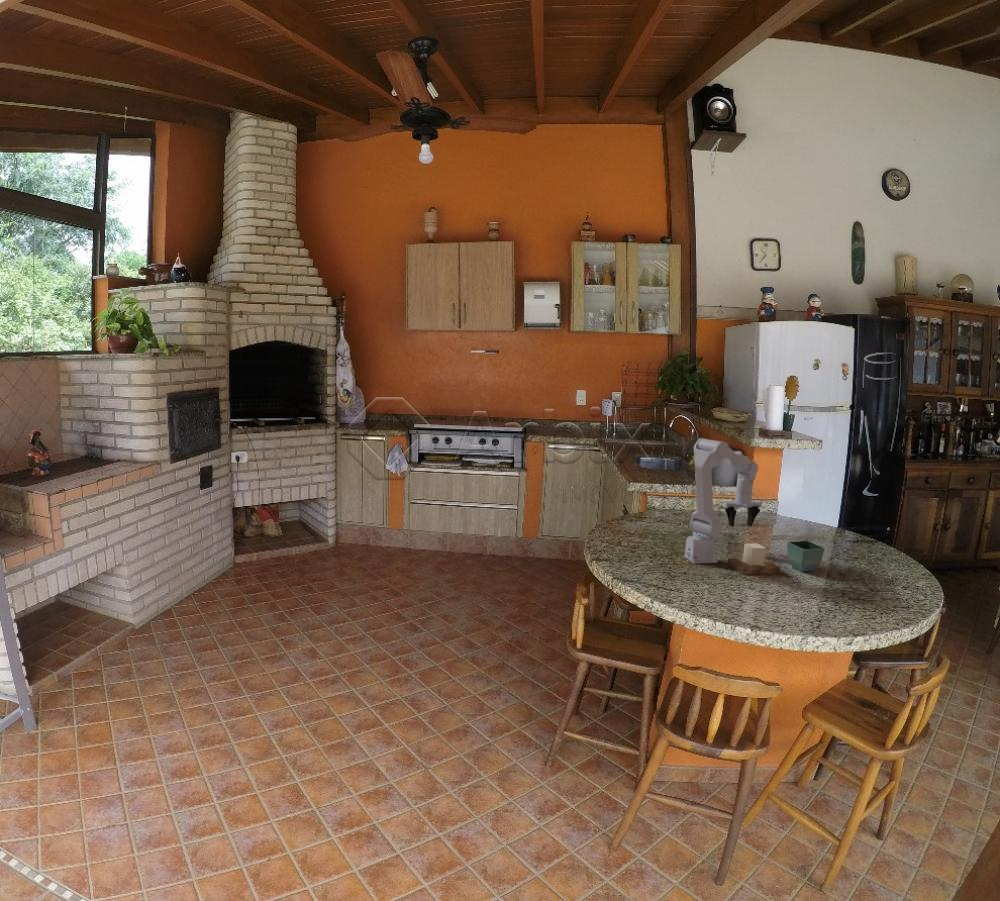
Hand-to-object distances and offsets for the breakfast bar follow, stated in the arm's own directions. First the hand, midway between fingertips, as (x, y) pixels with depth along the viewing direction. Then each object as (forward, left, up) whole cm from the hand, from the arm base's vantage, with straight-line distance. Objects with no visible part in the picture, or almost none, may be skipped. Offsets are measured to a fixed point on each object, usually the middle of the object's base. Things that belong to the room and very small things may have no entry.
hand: (740, 525), depth 240 cm
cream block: (-6, -20, -7) cm, 22 cm away
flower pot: (+12, -22, -10) cm, 27 cm away
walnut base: (-6, -20, -9) cm, 23 cm away
